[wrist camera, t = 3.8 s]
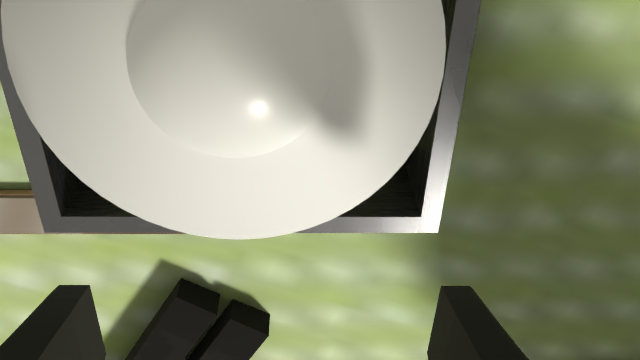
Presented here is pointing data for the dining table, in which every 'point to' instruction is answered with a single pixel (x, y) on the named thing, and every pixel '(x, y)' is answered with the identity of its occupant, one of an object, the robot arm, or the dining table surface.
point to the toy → (201, 328)
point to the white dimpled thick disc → (228, 102)
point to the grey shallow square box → (367, 217)
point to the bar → (26, 214)
